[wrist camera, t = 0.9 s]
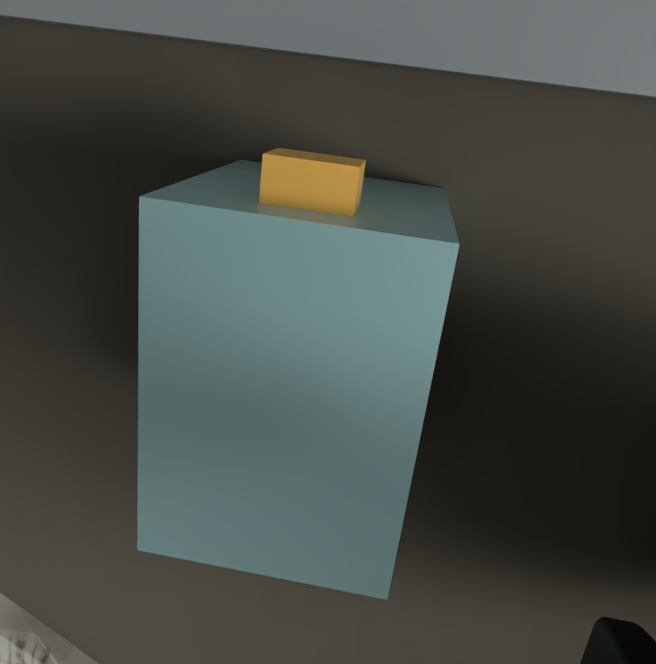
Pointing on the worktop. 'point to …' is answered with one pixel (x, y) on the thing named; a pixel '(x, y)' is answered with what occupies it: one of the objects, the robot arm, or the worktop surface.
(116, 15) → the plate
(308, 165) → the block
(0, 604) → the packaged product
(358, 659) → the worktop surface
